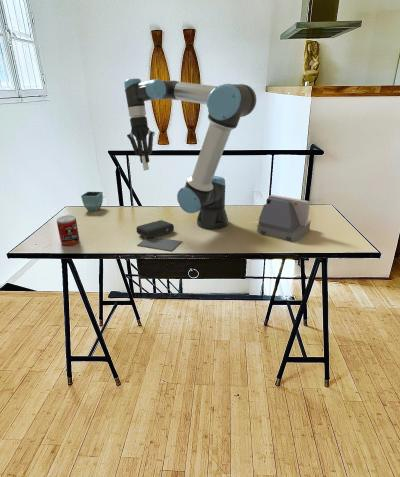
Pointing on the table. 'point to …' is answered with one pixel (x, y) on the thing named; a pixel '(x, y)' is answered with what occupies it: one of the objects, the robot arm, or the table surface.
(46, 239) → the table surface
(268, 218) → the grey tapered box
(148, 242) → the mat
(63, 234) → the canned food
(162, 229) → the card reader
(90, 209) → the flower pot
